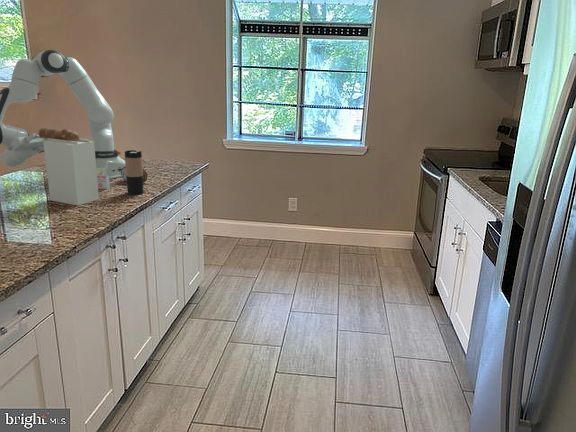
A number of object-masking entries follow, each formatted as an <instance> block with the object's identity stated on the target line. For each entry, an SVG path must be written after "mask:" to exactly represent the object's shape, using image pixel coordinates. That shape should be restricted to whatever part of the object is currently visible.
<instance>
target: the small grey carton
mask: <svg viewBox="0 0 576 432" xmlns="http://www.w3.org/2000/svg"><path fill="white" fill-rule="evenodd" d="M96 170H97V181H98V190H109V189H110V188H111V186H110V184H111V183H110V179H109V174H108V170H107V169H102V168H96Z"/></svg>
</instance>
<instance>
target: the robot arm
mask: <svg viewBox="0 0 576 432" xmlns="http://www.w3.org/2000/svg"><path fill="white" fill-rule="evenodd" d="M56 75H59V76H61V78H62V79H63V80H64V81H65V83H66V84H67V86H68V87H69V89H70V90H71V92H72V93H73V95H74V96H75V97H76V99H77V100H78V101H79V103H80V104H81V106H82V107H83V108H84V110H85V111H86V112H87V118H88V125H89V126H88V127H89V130H90V131H89V132H90V141H93V142H94V147H95V158H96V168H102V169H107V170H108V174H109V180H111V179H116V178H122V176H121V169H122V168H123V167H126V166H125V159H123V158H122V157H120V156H119V155H121V153H122V152H121V151H120V150H117V149H115V142H114V134H113V129H112V122H113V120H114V118H115V114H114V110H113V109H112V108H111V106H110V105H109V103H108V102H107V101H106V99H105V97H104V96H103V94H101V92H100V91H99V89H98V88H97V86H96V85H95V84H94V82H93V80H92V79H91V77H90V76H89V74H88V72H87V71H86V70H85V68H84V67H83V66H82V64H80V62H79V61H78V60H77V59H75V57H70V56H69V57H66V56H65V55H63V54H62V53H61V52H60V51H58V50H56V49H47V50H44V51H41V52H39V53H37V55H35V56H34V57H32V58H31V59H29V58H21V59H19V60H17V61H16V64H15V66H14V69H13V72H12V76H11V81H10V83H9V85H7V87H3V88H2V89H1V91H0V145H1V146H5V147H6V149H5V150H4V151H3V152H2V154H1V155H0V161H1V163H3V165H6V166H7V167H10V168H16V167H18V166H20V165H22V164H24V163H25V162H26V161H27V160H28V159H31V158H32V157H35V156H36V155H38V154H40V153H41V154H42V153H45V152H44V144H43V141H48V140H47V139H45V138H41V137H40V136H39V134H37V133H32V134H29V132H28V131H27V130H26V129H24V128H20V127H17V126H14V125H8V124H5V123H3V119H4V117H5V115H6V112H7V109H8V108H9V106H10V105H11V104H14V103H27V102H30V101H32V100H33V101H34V99H35V98H36V97H37V95H38V91H39V85H40V80H41V78H48V77H52V76H56Z"/></svg>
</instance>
